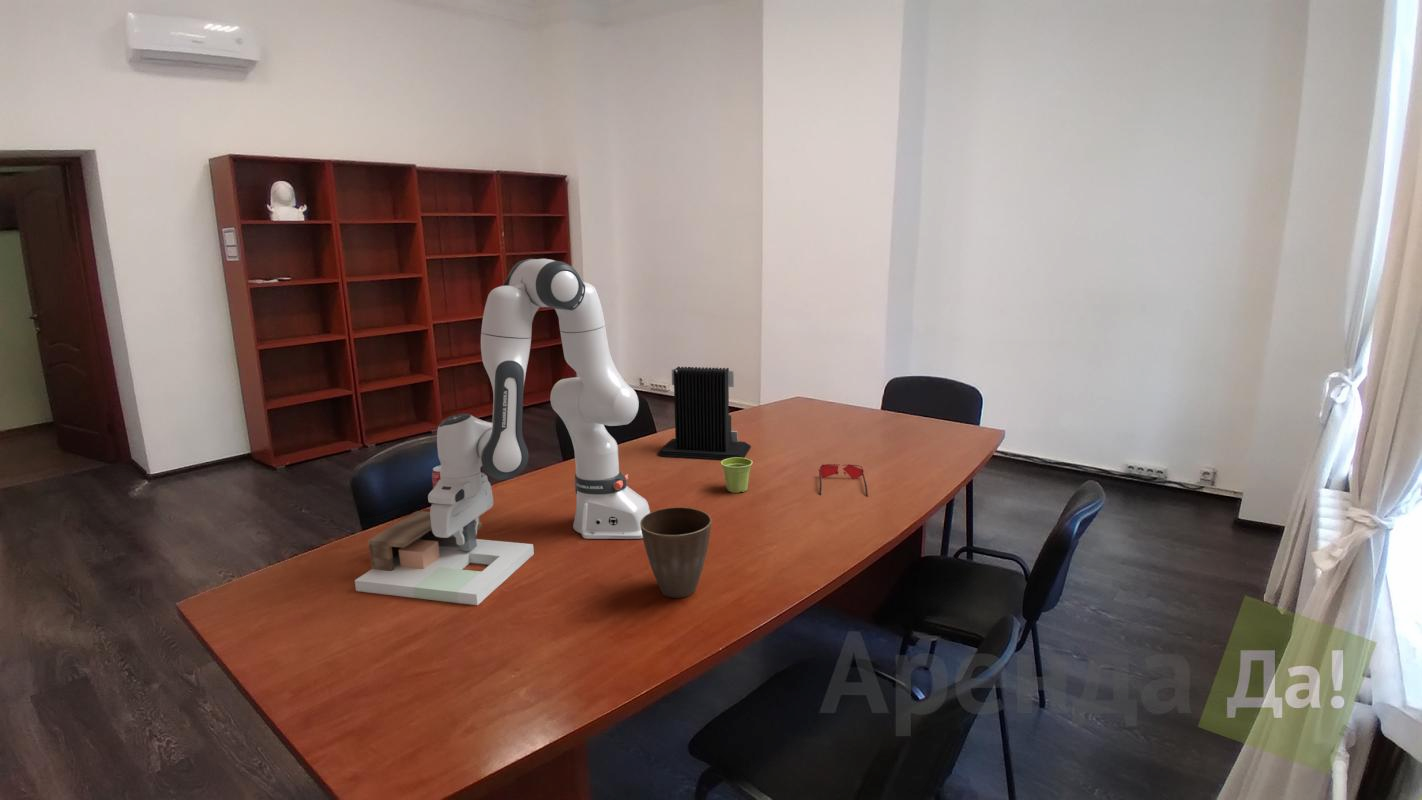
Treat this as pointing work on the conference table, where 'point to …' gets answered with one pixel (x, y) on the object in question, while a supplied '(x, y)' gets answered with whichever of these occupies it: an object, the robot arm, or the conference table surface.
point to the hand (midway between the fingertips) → (467, 539)
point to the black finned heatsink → (703, 416)
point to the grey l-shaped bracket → (451, 541)
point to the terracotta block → (419, 554)
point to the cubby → (397, 539)
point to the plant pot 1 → (676, 547)
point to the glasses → (833, 469)
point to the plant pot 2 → (736, 473)
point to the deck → (451, 573)
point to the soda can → (436, 475)
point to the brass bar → (479, 526)
